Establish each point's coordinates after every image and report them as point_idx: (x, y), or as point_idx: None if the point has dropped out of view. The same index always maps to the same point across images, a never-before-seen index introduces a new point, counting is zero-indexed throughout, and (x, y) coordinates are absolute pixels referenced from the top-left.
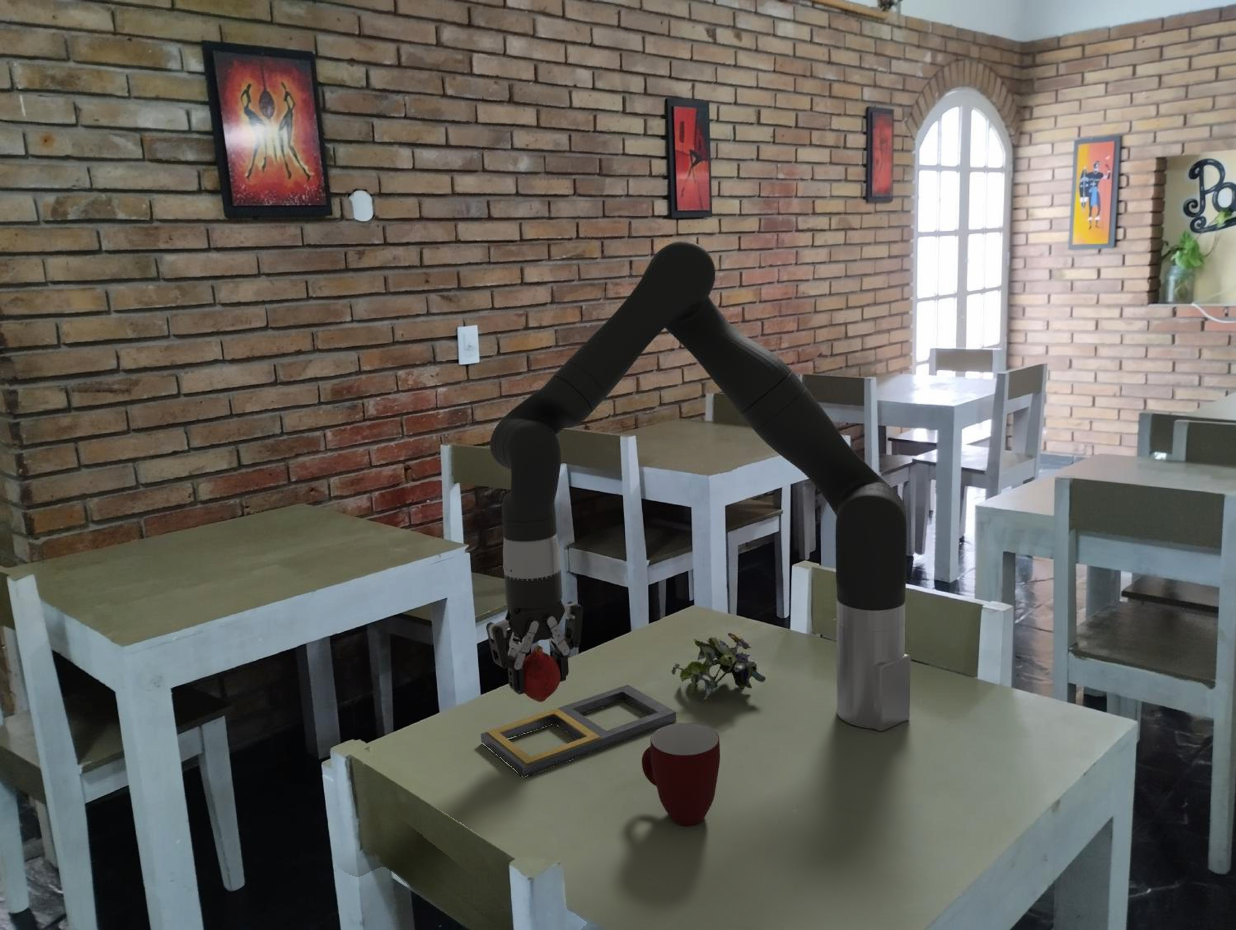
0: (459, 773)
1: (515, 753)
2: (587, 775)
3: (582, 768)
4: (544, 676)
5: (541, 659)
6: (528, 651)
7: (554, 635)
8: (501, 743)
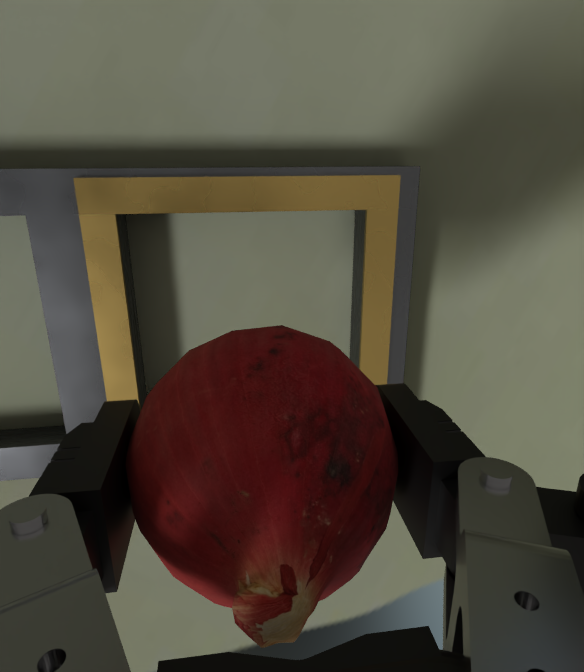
0: (519, 315)
1: (392, 263)
2: (225, 27)
3: (215, 88)
4: (296, 365)
5: (288, 486)
6: (467, 536)
7: (119, 668)
8: (388, 353)
